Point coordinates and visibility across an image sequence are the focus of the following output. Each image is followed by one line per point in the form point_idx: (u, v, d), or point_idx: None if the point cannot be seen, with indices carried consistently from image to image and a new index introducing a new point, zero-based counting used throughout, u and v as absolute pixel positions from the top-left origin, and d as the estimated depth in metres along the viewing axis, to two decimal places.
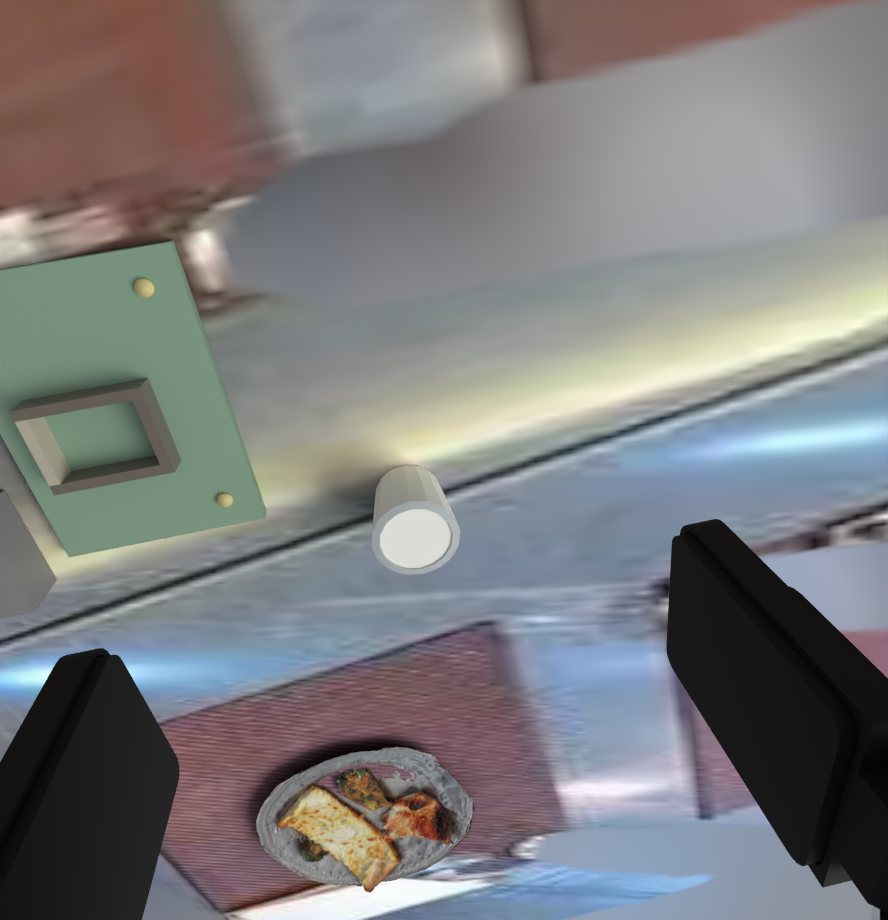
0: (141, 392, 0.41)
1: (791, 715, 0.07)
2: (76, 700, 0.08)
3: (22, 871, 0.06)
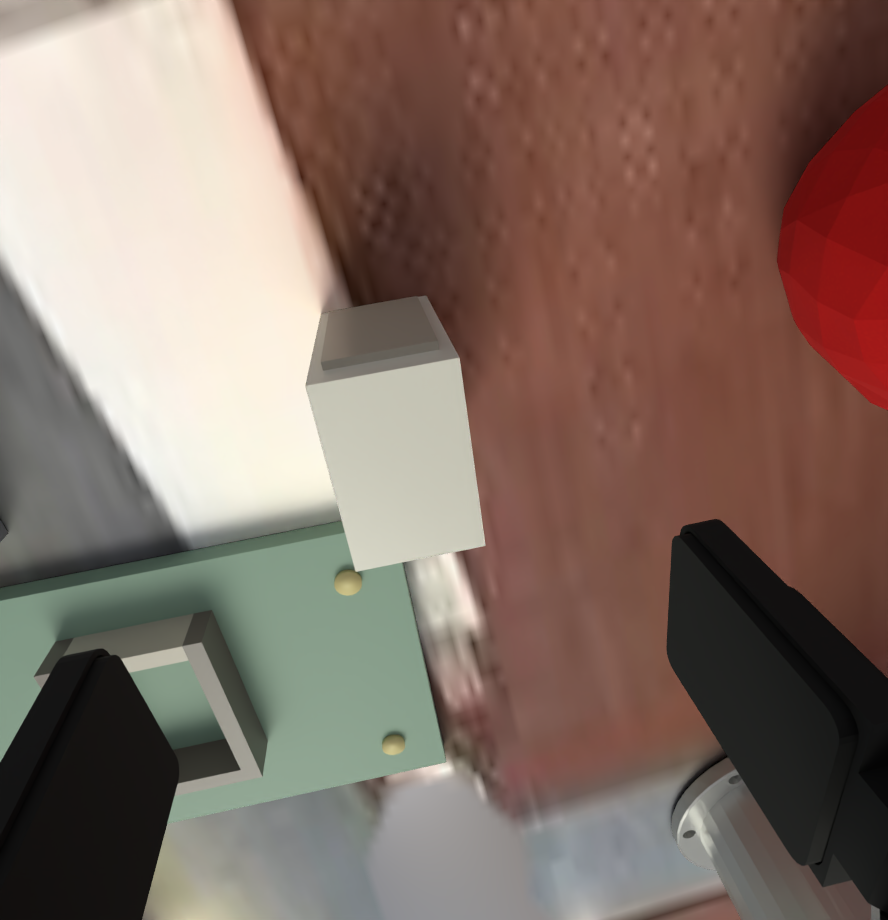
0: (254, 777, 0.28)
1: (791, 715, 0.07)
2: (76, 700, 0.08)
3: (22, 871, 0.06)
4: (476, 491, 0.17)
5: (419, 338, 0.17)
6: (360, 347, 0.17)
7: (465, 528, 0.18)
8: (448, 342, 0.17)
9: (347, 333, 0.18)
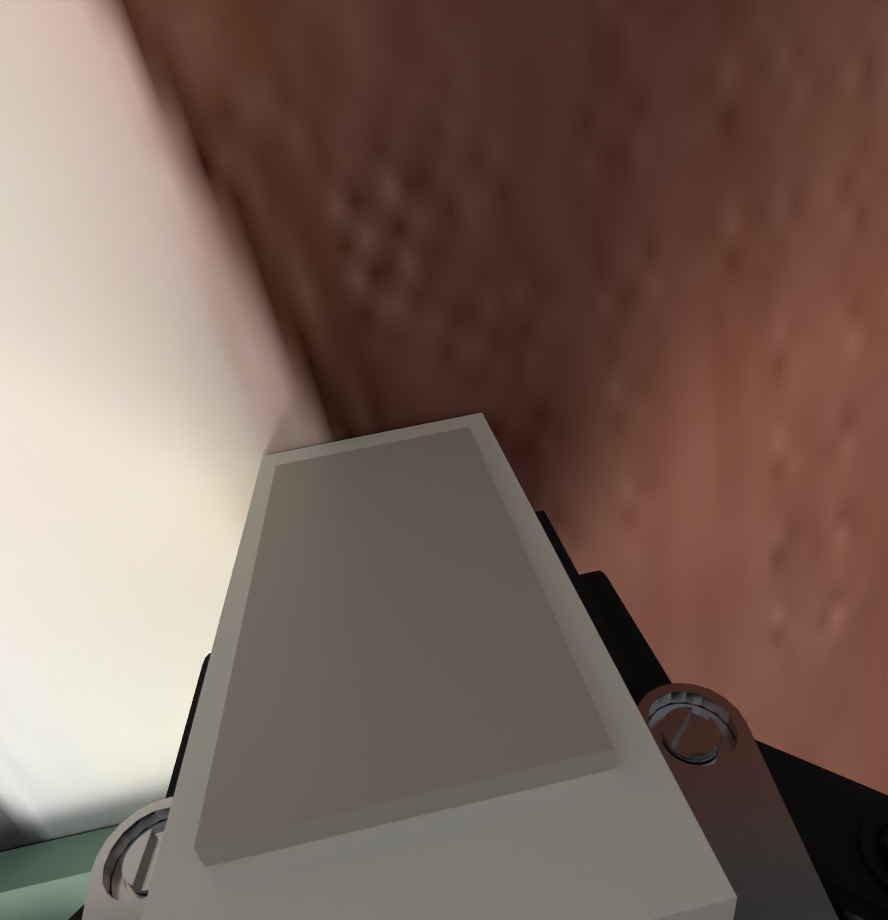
0: None
1: None
2: None
3: None
4: None
5: (536, 704, 0.05)
6: (340, 733, 0.05)
7: None
8: (628, 708, 0.05)
9: (308, 601, 0.07)
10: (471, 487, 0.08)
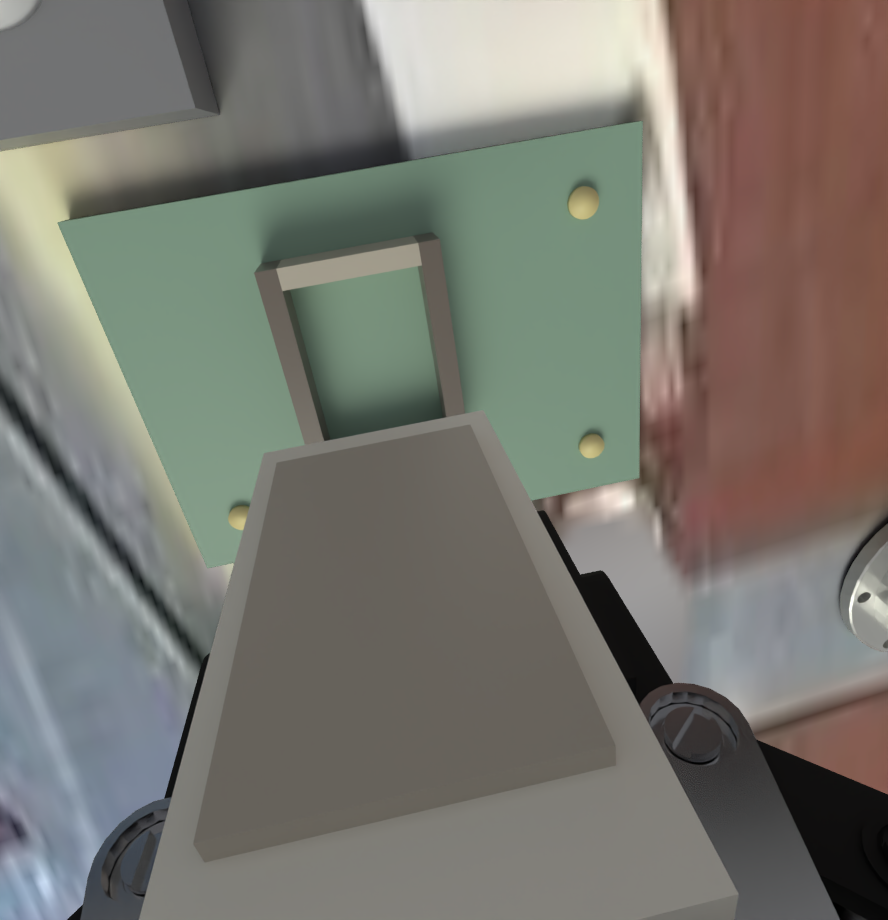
0: None
1: None
2: None
3: None
4: None
5: (537, 700, 0.05)
6: (341, 729, 0.05)
7: None
8: (629, 705, 0.05)
9: (308, 597, 0.07)
10: (472, 484, 0.08)
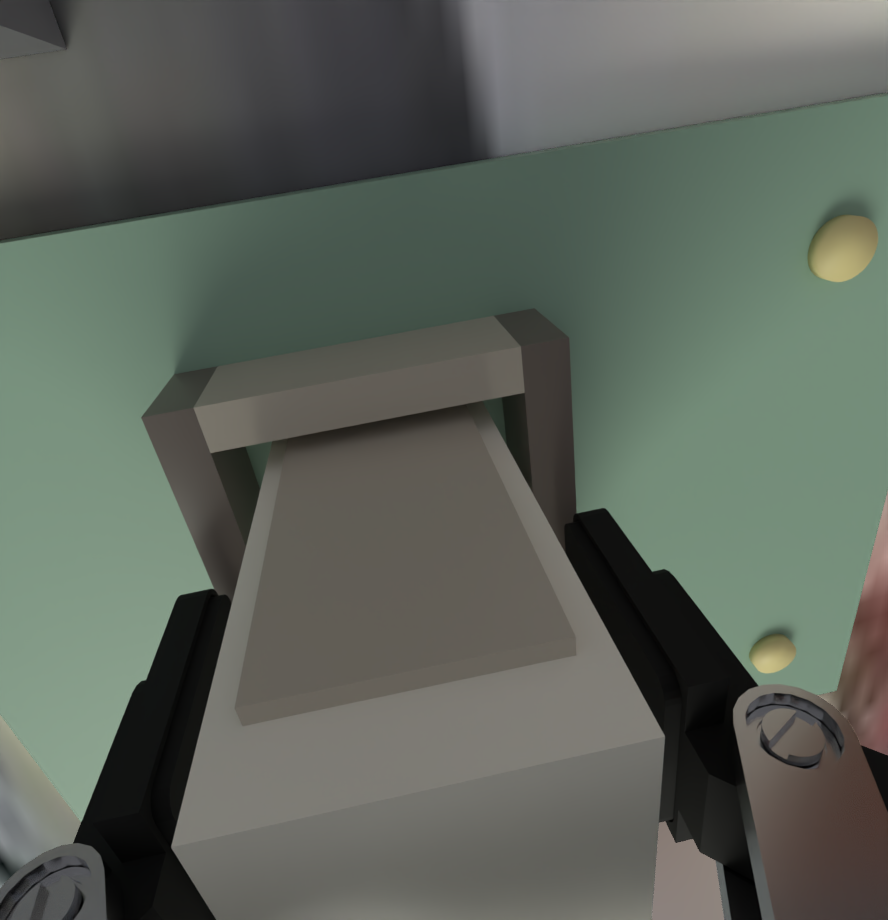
0: None
1: (639, 683, 0.08)
2: (202, 629, 0.09)
3: (184, 763, 0.07)
4: None
5: (514, 607, 0.06)
6: (352, 629, 0.06)
7: None
8: (590, 614, 0.06)
9: (321, 535, 0.08)
10: (464, 448, 0.09)
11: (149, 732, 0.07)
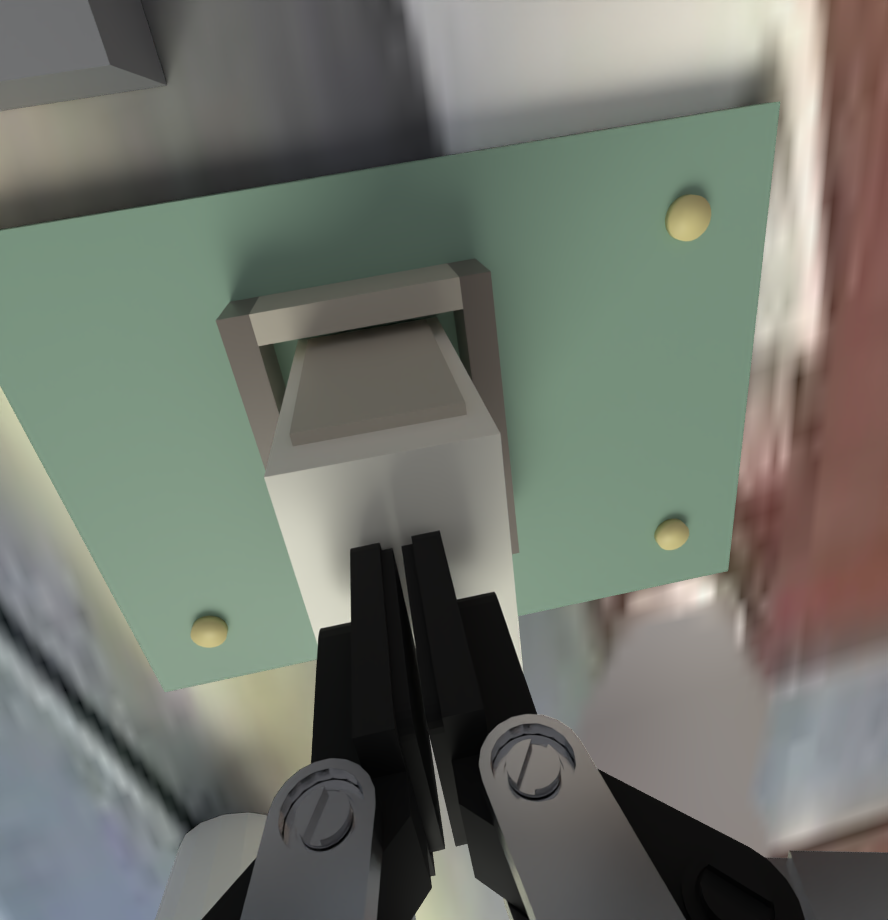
0: None
1: None
2: (385, 577, 0.09)
3: (409, 691, 0.08)
4: (515, 612, 0.12)
5: (436, 396, 0.11)
6: (349, 408, 0.11)
7: None
8: (478, 401, 0.11)
9: (331, 379, 0.13)
10: (422, 340, 0.14)
11: (373, 662, 0.08)
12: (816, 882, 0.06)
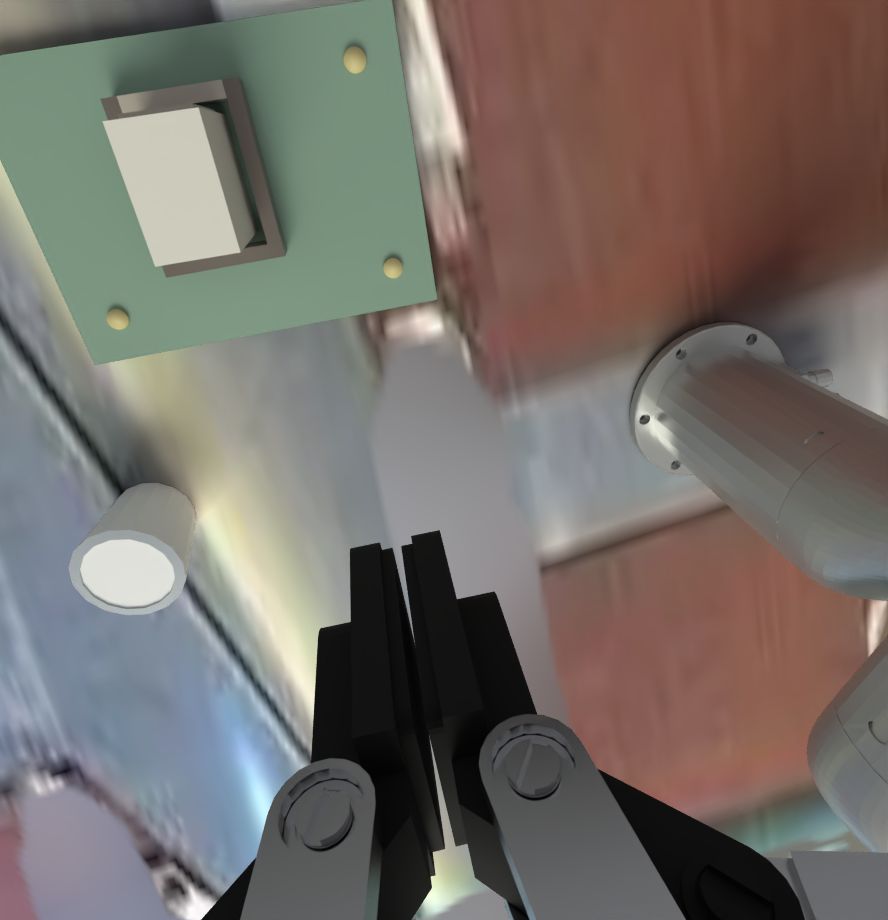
0: (278, 256, 0.34)
1: None
2: (385, 577, 0.09)
3: (409, 691, 0.08)
4: (227, 208, 0.27)
5: None
6: None
7: (224, 237, 0.28)
8: (202, 109, 0.27)
9: None
10: None
11: (374, 662, 0.08)
12: (816, 882, 0.06)
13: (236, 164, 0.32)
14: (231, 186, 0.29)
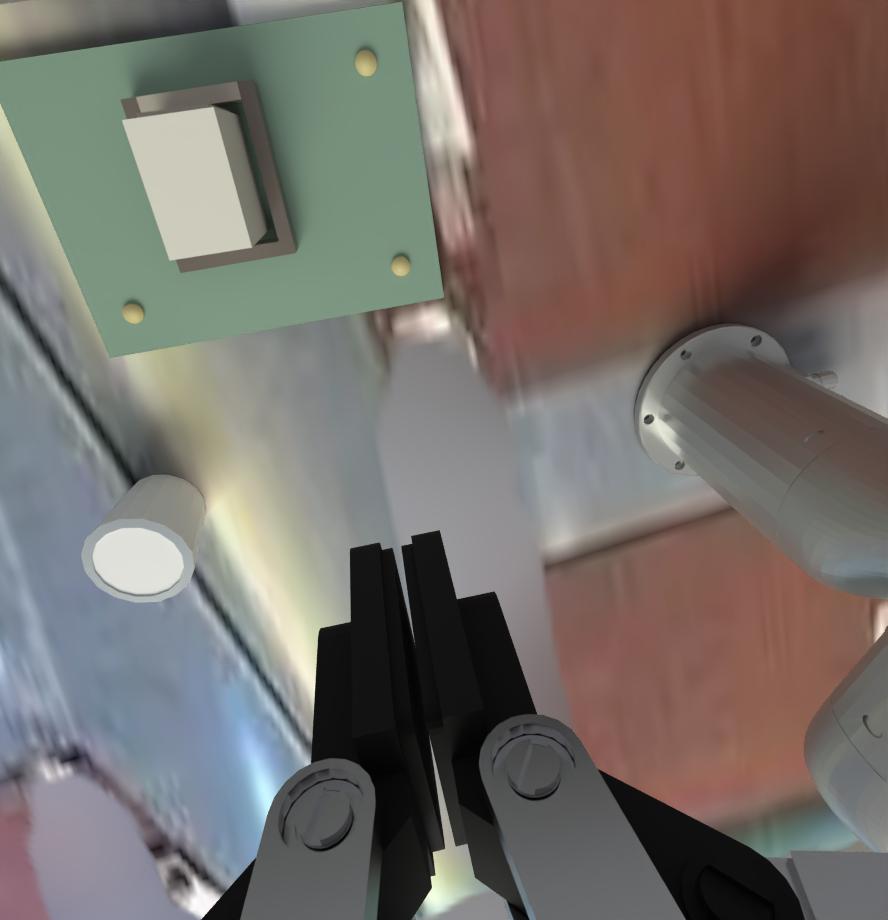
0: (289, 253, 0.35)
1: None
2: (385, 577, 0.09)
3: (409, 691, 0.08)
4: (239, 205, 0.28)
5: None
6: None
7: (236, 232, 0.29)
8: (217, 109, 0.28)
9: None
10: None
11: (373, 662, 0.08)
12: (816, 882, 0.06)
13: (249, 163, 0.33)
14: (244, 184, 0.30)
